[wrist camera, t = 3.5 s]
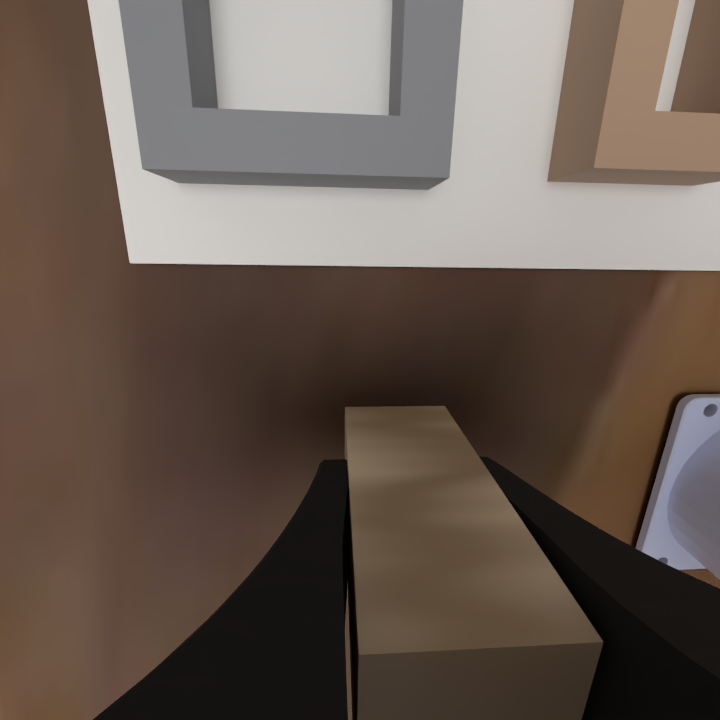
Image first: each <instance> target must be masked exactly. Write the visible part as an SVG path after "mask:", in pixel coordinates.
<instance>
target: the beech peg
mask: <svg viewBox="0 0 720 720" xmlns="http://www.w3.org/2000/svg"><path fill="white" fill-rule="evenodd" d="M345 460H347V467H348V479H349V485H348V606H349V634H350V663H351V692H352V720H582V716H583V713H584V709H585V706H586V702H587V699H588V695H589V692H590V688H591V684H592V681H593V677H594V674H595V670H596V667H597V663H598V660H599V656H600V653H601V649H602V646H603V640H602V639H601V637H600V636H599V634H598V633H597V631H596V630H595V628H594V627H593V625H592V624H591V623H590V621H589V620H588V618H587V617H586V615H585V614H584V612H583V611H582V609H581V608H580V606H579V605H578V603H577V602H576V600H575V599H574V597H573V596H572V594H571V593H570V591H569V590H568V588H567V587H566V585H565V584H564V582H563V581H562V579H561V578H560V576H559V575H558V573H557V572H556V570H555V569H554V568H553V566H552V565H551V563H550V562H549V560H548V559H547V557H546V556H545V554H544V553H543V551H542V550H541V548H540V547H539V545H538V544H537V542H536V541H535V539H534V538H533V536H532V535H531V533H530V532H529V530H528V529H527V527H526V526H525V524H524V523H523V521H522V520H521V518H520V517H519V515H518V514H517V513H516V511H515V510H514V508H513V507H512V505H511V504H510V502H509V501H508V499H507V498H506V496H505V495H504V493H503V492H502V490H501V489H500V487H499V486H498V484H497V483H496V481H495V480H494V478H493V477H492V475H491V474H490V472H489V471H488V469H487V468H486V466H485V465H484V463H483V462H482V460H481V459H480V457H479V456H478V455H477V453H476V452H475V450H474V449H473V447H472V446H471V444H470V443H469V441H468V440H467V438H466V437H465V435H464V434H463V432H462V431H461V429H460V428H459V426H458V425H457V423H456V422H455V420H454V419H453V417H452V416H451V414H450V413H449V411H448V410H447V408H446V407H445V406H385V407H345Z"/></svg>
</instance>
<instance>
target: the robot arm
mask: <svg viewBox="0 0 720 720" xmlns="http://www.w3.org/2000/svg"><path fill="white" fill-rule="evenodd" d="M706 406H707V407H706ZM705 407H706V409H705ZM704 409H705V410H704ZM480 459H481V460H482V462H483V463H484V465H485V466H486V468H487V469H488V471H489V472H490V474H491V475H492V477H493V478H494V480H495V481H496V483H497V484H498V486H499V487H500V489H501V490H502V492H503V493H504V495H505V496H506V498H507V499H508V501H509V502H510V504H511V505H512V507H513V508H514V510H515V511H516V513H517V514H518V515H519V517H520V518H521V520H522V521H523V523H524V524H525V526H526V527H527V529H528V530H529V532H530V533H531V535H532V536H533V538H534V539H535V541H536V542H537V544H538V545H539V547H540V548H541V550H542V551H543V553H544V554H545V556H546V557H547V559H548V560H549V562H550V563H551V565H552V566H553V568H554V569H555V570H556V572H557V573H558V575H559V576H560V578H561V579H562V581H563V582H564V584H565V585H566V587H567V588H568V590H569V591H570V593H571V594H572V596H573V597H574V599H575V600H576V602H577V603H578V605H579V606H580V608H581V609H582V611H583V612H584V614H585V615H586V617H587V618H588V620H589V621H590V623H591V624H592V625H593V627H594V628H595V630H596V631H597V633H598V634H599V636H600V637H601V639H602V640H603V646H602V649H601V653H600V656H599V660H598V663H597V667H596V670H595V674H594V677H593V681H592V684H591V688H590V692H589V695H588V699H587V702H586V706H585V709H584V713H583V716H582V720H720V589H719V588H717V587H714V586H712V585H710V584H708V583H706V582H703V581H701V580H699V579H697V578H694V577H692V576H690V575H688V574H686V573H683V572H681V571H679V570H683V569H706V568H707V569H708V570H709V571H710V572H711V573H712V574H713V575H715V576H716V577H717V578H718V579H719V580H720V394H692V395H687V396H685V397H684V398H682V399H681V400H680V401H679V403H678V405H677V407H676V410H675V414H674V417H673V421H672V424H671V427H670V431H669V434H668V438H667V441H666V445H665V448H664V452H663V455H662V458H661V462H660V465H659V469H658V472H657V476H656V479H655V483H654V486H653V489H652V493H651V496H650V500H649V503H648V507H647V510H646V514H645V517H644V520H643V524H642V527H641V531H640V534H639V538H638V541H637V545H636V548H634V547H632V546H630V545H628V544H626V543H624V542H622V541H620V540H619V539H617V538H615V537H613V536H611V535H610V534H608V533H606V532H604V531H603V530H601V529H599V528H597V527H596V526H594V525H592V524H591V523H589V522H587V521H586V520H584V519H582V518H581V517H579V516H577V515H576V514H574V513H572V512H571V511H569V510H568V509H566V508H564V507H563V506H561V505H560V504H558V503H557V502H555V501H554V500H552V499H550V498H549V497H547V496H546V495H544V494H543V493H541V492H540V491H538V490H537V489H535V488H534V487H532V486H531V485H529V484H528V483H526V482H525V481H523V480H522V479H520V478H519V477H518V476H516V475H515V474H513V473H512V472H510V471H509V470H507V469H506V468H504V467H503V466H501V465H499V464H498V463H496V462H495V461H493V460H491V459H490V458H488V457H480ZM348 485H349V479H348V467H347V460H324V461H322V462H321V463H320V465H319V468H318V471H317V473H316V476H315V478H314V480H313V482H312V484H311V486H310V488H309V490H308V492H307V494H306V495H305V497H304V499H303V501H302V502H301V504H300V506H299V507H298V509H297V511H296V512H295V514H294V516H293V517H292V519H291V520H290V522H289V523H288V525H287V526H286V527H285V529H284V530H283V532H282V533H281V535H280V536H279V538H278V539H277V541H276V542H275V543H274V545H273V546H272V547H271V549H270V550H269V551H268V553H267V554H266V555H265V556H264V558H263V559H262V560H261V561H260V563H259V564H258V565H257V566H256V567H255V569H254V570H253V571H252V572H251V573H250V575H249V576H248V577H247V578H246V579H245V580H244V581H243V582H242V584H241V585H240V586H239V587H238V588H237V589H236V590H235V591H234V592H233V593H232V595H231V596H230V597H229V598H228V599H227V600H226V601H225V602H224V603H223V604H222V605H221V606H220V607H219V608H218V609H217V610H216V611H215V613H214V614H213V615H212V616H211V617H210V618H209V619H208V620H207V621H206V622H204V623H203V624H202V625H201V626H200V627H199V628H198V629H197V630H196V631H195V632H194V633H193V634H192V635H191V636H189V637H188V638H187V639H186V640H185V641H184V642H183V643H182V644H181V645H180V646H179V647H178V648H177V649H176V650H174V651H173V652H172V653H171V654H170V655H169V656H168V657H167V658H166V659H165V660H164V661H163V662H162V663H161V664H159V665H158V666H157V667H156V668H155V669H154V670H153V671H151V672H150V673H149V674H148V675H147V676H146V677H144V678H143V679H142V680H141V681H140V682H138V683H137V684H136V685H135V686H134V687H132V688H131V689H130V690H129V691H127V692H126V693H125V694H124V695H122V696H121V697H120V698H119V699H118V700H116V701H115V702H114V703H113V704H111V705H110V706H109V707H108V708H107V709H105V710H104V711H103V712H102V713H100V714H99V715H98V716H97V717H96V718H94V719H93V720H348V713H347V686H346V658H345V614H346V598H347V582H348Z"/></svg>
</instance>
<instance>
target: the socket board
mask: <svg viewBox="0 0 720 720" xmlns="http://www.w3.org/2000/svg"><path fill="white" fill-rule="evenodd" d="M88 7H89V13H90V19H91V25H92V32H93V38H94V44H95V50H96V56H97V63H98V69H99V75H100V81H101V87H102V94H103V100H104V106H105V112H106V118H107V125H108V131H109V137H110V143H111V149H112V156H113V162H114V168H115V174H116V181H117V187H118V193H119V199H120V205H121V212H122V218H123V224H124V230H125V236H126V243H127V249H128V255H129V261H130V263H154V264H232V265H310V266H388V267H465V268H543V269H621V270H698V271H720V0H88Z"/></svg>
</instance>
